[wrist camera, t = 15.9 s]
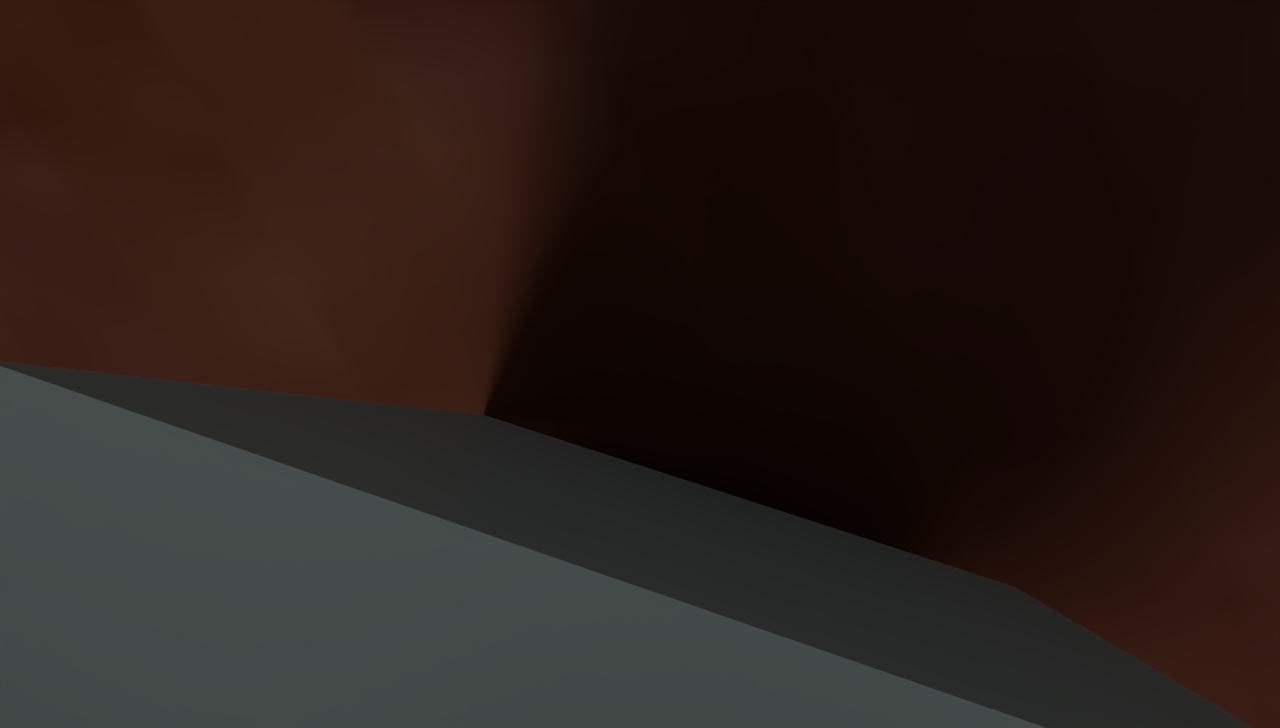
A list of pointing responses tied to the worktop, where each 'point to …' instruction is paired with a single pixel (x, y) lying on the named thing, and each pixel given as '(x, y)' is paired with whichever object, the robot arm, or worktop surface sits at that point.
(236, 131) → the worktop surface
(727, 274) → the worktop surface
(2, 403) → the pale grey cube
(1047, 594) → the worktop surface
